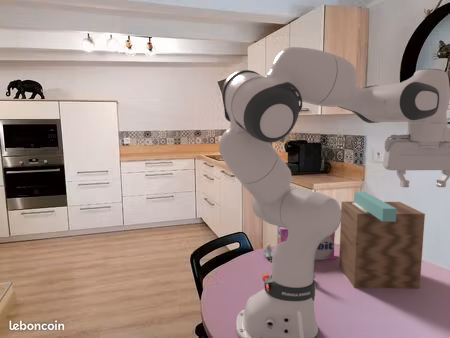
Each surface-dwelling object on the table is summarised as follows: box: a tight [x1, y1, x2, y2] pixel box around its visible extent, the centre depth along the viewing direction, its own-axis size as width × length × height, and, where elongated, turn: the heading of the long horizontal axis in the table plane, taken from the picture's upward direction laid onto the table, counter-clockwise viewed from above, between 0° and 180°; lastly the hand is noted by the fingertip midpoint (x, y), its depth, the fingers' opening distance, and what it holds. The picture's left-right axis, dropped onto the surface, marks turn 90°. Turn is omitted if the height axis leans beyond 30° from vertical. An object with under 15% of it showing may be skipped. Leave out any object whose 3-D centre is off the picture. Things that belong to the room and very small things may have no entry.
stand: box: [338, 201, 426, 289], centre depth 124 cm, size 22×18×26 cm
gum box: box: [276, 226, 336, 261], centre depth 144 cm, size 24×8×14 cm, turn 92°
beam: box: [353, 191, 397, 222], centre depth 116 cm, size 4×26×4 cm, turn 177°
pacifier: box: [263, 243, 273, 260], centre depth 144 cm, size 7×6×6 cm
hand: (422, 187), depth 90 cm, fingers open, 8 cm apart
